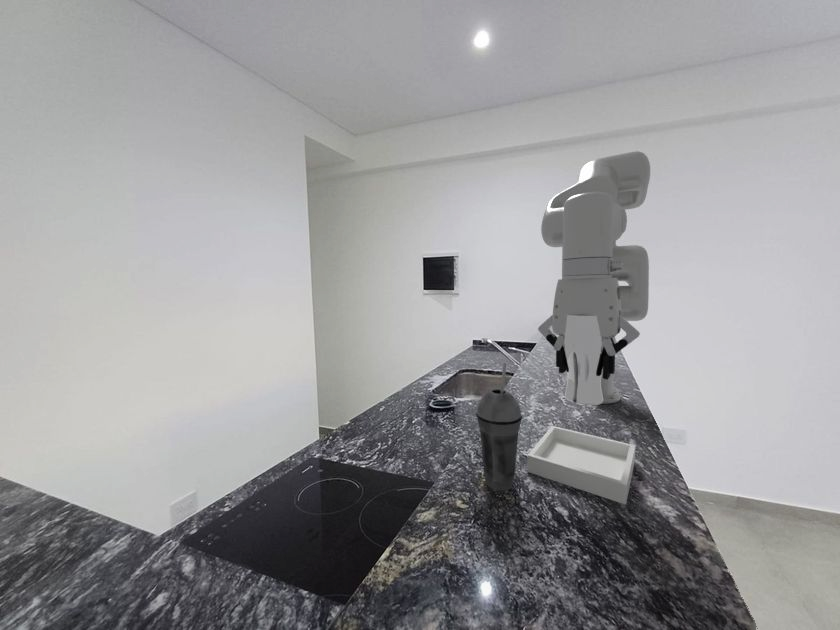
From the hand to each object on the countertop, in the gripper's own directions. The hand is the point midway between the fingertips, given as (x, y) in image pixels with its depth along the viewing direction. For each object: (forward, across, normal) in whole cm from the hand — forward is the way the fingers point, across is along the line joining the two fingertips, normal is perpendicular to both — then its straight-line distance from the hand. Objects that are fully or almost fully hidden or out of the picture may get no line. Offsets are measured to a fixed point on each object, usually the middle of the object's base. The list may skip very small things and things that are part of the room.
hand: (584, 373), depth 56 cm
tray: (+17, 0, 0) cm, 17 cm away
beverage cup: (+17, +10, +13) cm, 24 cm away
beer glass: (+5, 0, 0) cm, 5 cm away
